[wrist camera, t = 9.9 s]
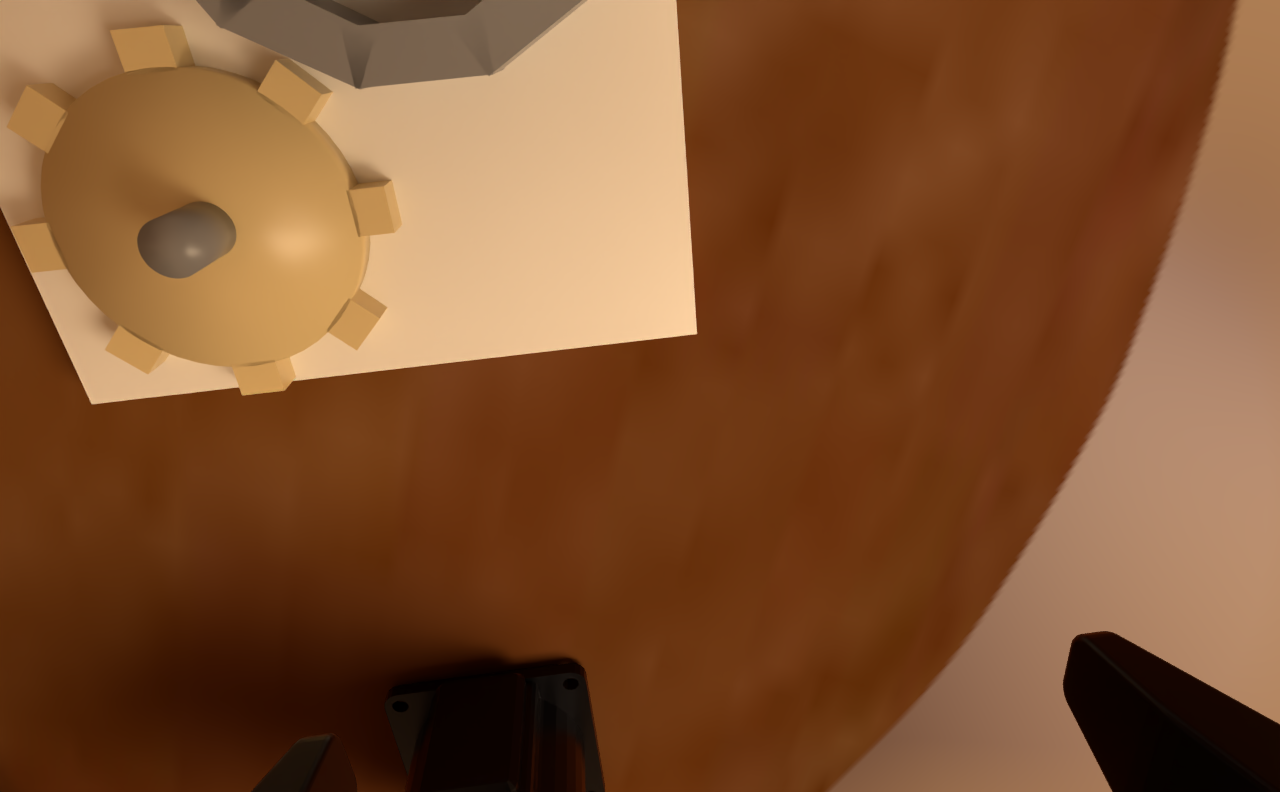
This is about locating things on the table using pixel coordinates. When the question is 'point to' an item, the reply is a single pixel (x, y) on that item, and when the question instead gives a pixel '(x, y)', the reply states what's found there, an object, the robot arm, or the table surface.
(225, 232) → the gear board
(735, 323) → the table surface
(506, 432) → the table surface
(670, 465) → the table surface
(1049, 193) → the table surface
